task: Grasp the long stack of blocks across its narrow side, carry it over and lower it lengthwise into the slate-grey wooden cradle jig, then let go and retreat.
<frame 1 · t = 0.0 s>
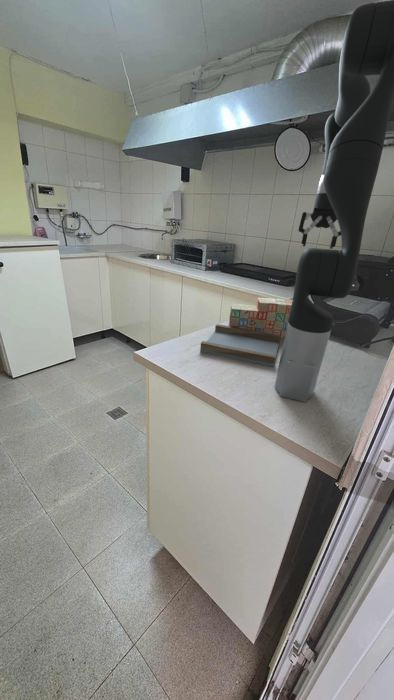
hand: (317, 247, 96), 29 cm above the counter, fingers open, 8 cm apart
cradle: (241, 347, 91), on the counter
stack of blocks: (257, 333, 103), on the counter
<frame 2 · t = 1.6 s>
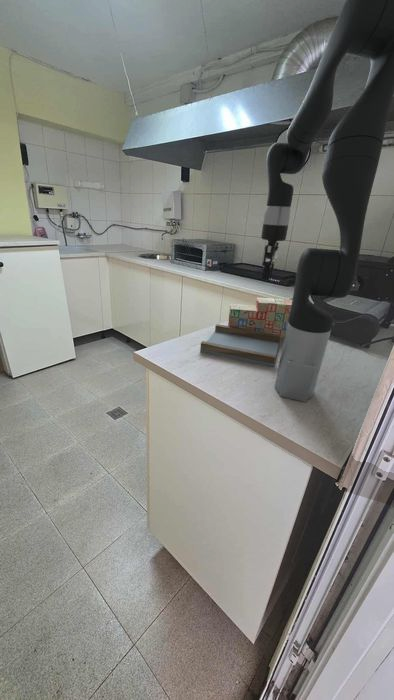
hand: (267, 276, 94), 20 cm above the counter, fingers open, 8 cm apart
nothing on the counter moved.
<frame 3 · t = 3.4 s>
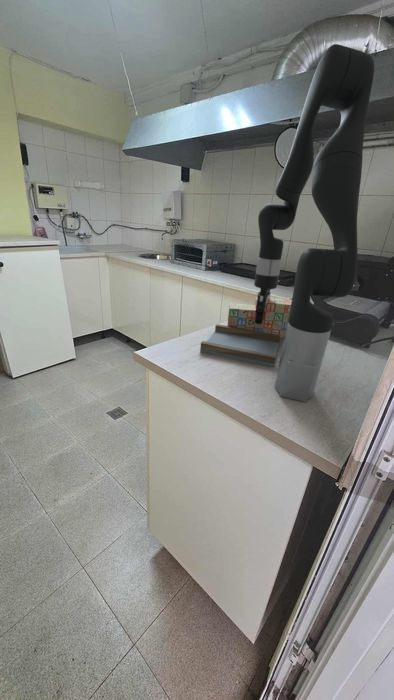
hand: (260, 319, 100), 5 cm above the counter, fingers closed on stack of blocks, 7 cm apart
stack of blocks: (256, 333, 103), on the counter, touching gripper
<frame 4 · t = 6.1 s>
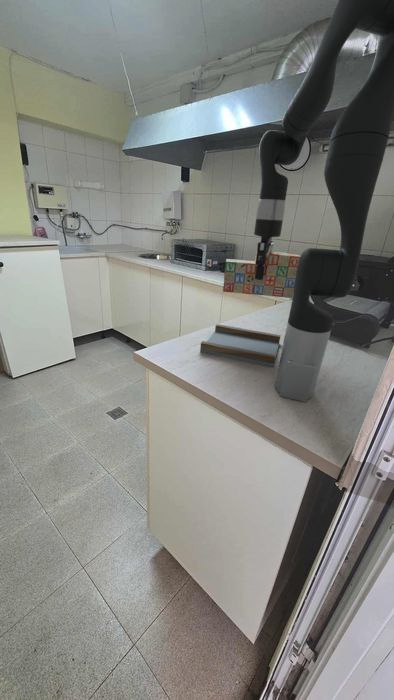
hand: (260, 277, 87), 21 cm above the counter, fingers closed on stack of blocks, 7 cm apart
stack of blocks: (256, 293, 90), point 16 cm above the counter, touching gripper
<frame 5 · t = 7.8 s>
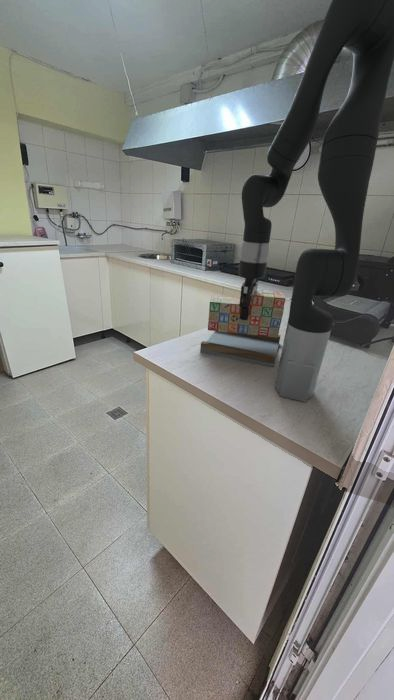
hand: (246, 315, 86), 11 cm above the counter, fingers closed on stack of blocks, 7 cm apart
stack of blocks: (242, 331, 88), point 6 cm above the counter, touching gripper
when the fingers open (7 cm above the counter, at t = 9.1 s): stack of blocks drops 1 cm, resting on cradle.
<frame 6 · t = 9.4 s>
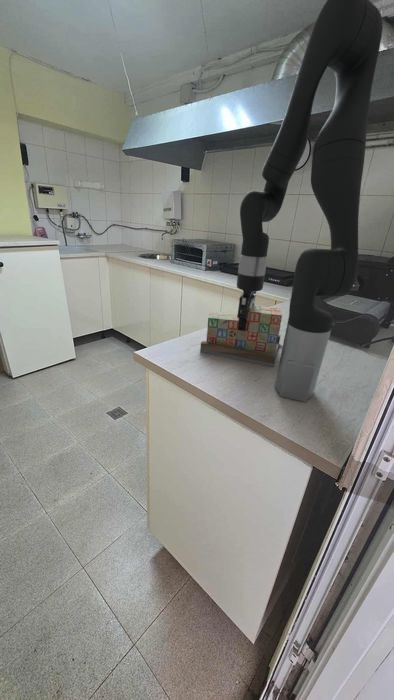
hand: (244, 325, 87), 8 cm above the counter, fingers open, 8 cm apart
stack of blocks: (240, 345, 90), point 1 cm above the counter, touching cradle
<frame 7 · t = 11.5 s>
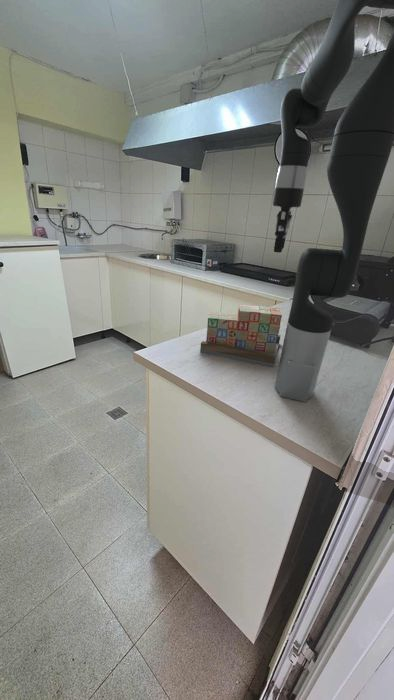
hand: (278, 250, 84), 29 cm above the counter, fingers open, 8 cm apart
nothing on the counter moved.
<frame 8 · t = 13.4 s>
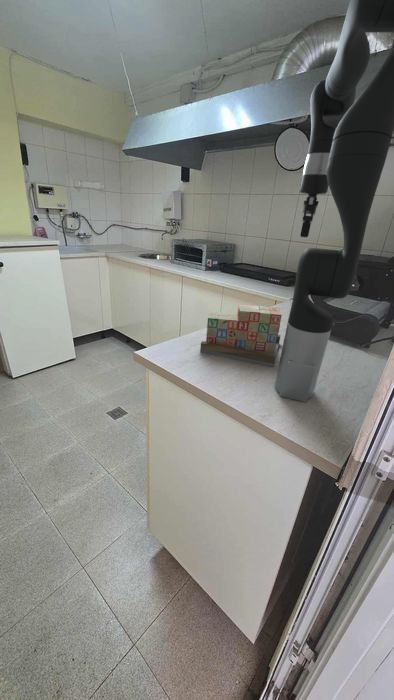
hand: (304, 236, 87), 33 cm above the counter, fingers open, 8 cm apart
nothing on the counter moved.
at the end: stack of blocks inside the target area on the cradle (0.7 cm from its centre), point 0.8 cm above the cradle's base; stack of blocks tilted 0°; the gripper is holding nothing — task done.
